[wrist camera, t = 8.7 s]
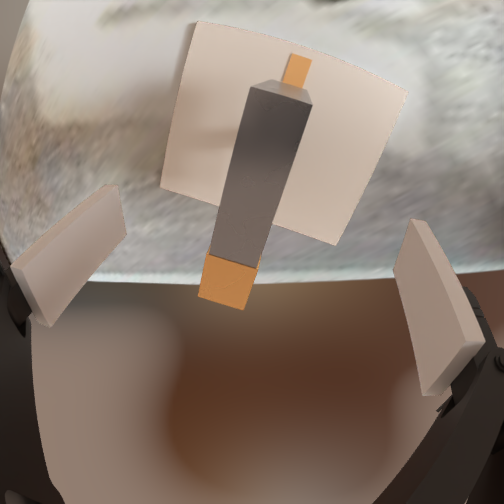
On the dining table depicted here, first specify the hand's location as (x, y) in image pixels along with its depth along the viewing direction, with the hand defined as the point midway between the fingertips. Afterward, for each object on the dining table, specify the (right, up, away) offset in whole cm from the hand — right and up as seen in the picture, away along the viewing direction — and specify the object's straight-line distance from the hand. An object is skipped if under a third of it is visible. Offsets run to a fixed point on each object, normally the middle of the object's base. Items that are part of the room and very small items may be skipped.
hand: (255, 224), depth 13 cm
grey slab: (+1, +5, +8) cm, 9 cm away
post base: (+2, +10, +15) cm, 18 cm away
